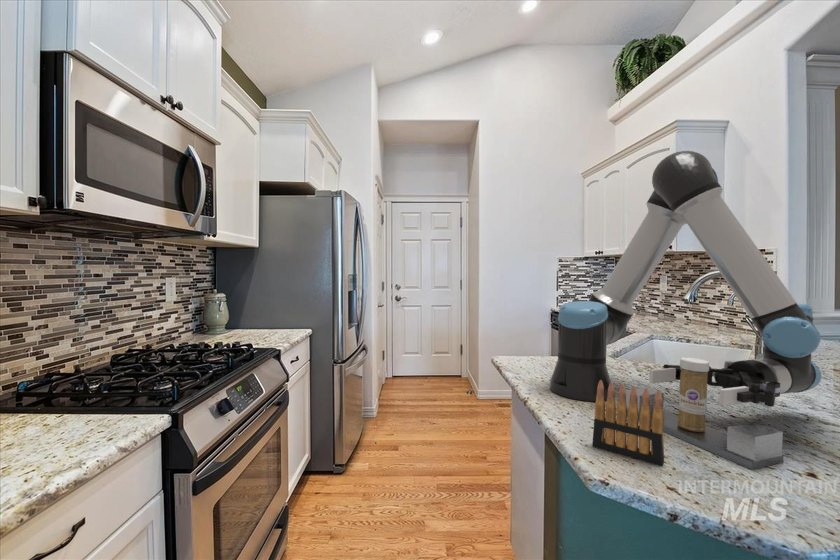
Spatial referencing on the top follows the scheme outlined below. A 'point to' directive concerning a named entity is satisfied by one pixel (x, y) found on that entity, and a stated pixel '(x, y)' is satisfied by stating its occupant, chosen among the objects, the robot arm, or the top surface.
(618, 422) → the ammunition clip
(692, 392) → the sprinkles bottle
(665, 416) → the rail
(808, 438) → the top surface
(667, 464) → the top surface
